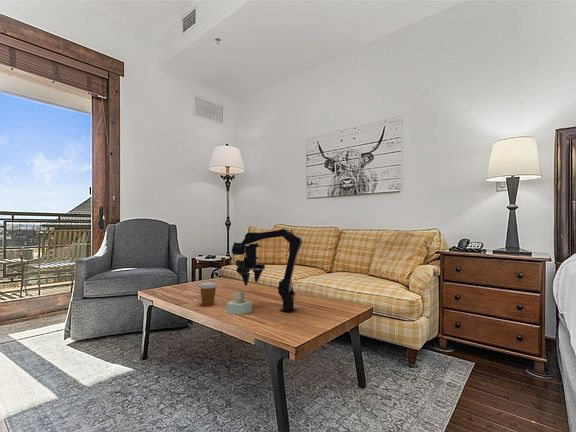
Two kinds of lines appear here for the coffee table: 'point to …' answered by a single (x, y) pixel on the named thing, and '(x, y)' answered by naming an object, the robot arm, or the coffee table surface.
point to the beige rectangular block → (239, 297)
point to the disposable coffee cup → (208, 293)
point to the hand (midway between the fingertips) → (251, 283)
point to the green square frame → (239, 307)
